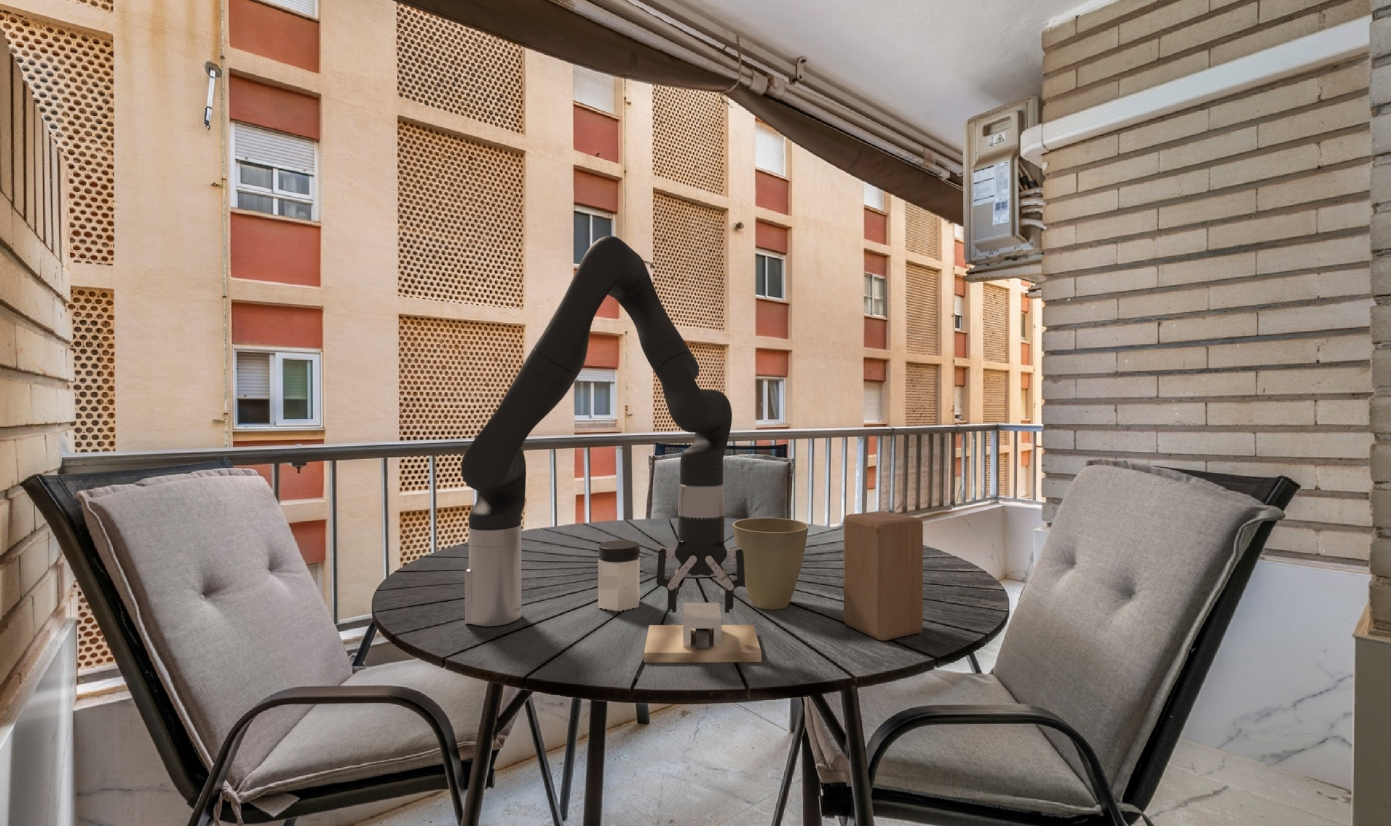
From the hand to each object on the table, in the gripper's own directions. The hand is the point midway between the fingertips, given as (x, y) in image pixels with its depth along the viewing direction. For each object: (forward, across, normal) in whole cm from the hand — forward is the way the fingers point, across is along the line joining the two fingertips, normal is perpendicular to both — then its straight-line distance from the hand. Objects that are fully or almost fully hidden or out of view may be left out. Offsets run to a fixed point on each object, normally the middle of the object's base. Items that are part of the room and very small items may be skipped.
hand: (700, 611), depth 100 cm
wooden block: (+6, -32, -8) cm, 34 cm away
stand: (+6, 0, 0) cm, 6 cm away
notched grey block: (+4, 0, 0) cm, 4 cm away
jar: (+6, +16, -22) cm, 28 cm away
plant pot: (+6, -14, -22) cm, 27 cm away
